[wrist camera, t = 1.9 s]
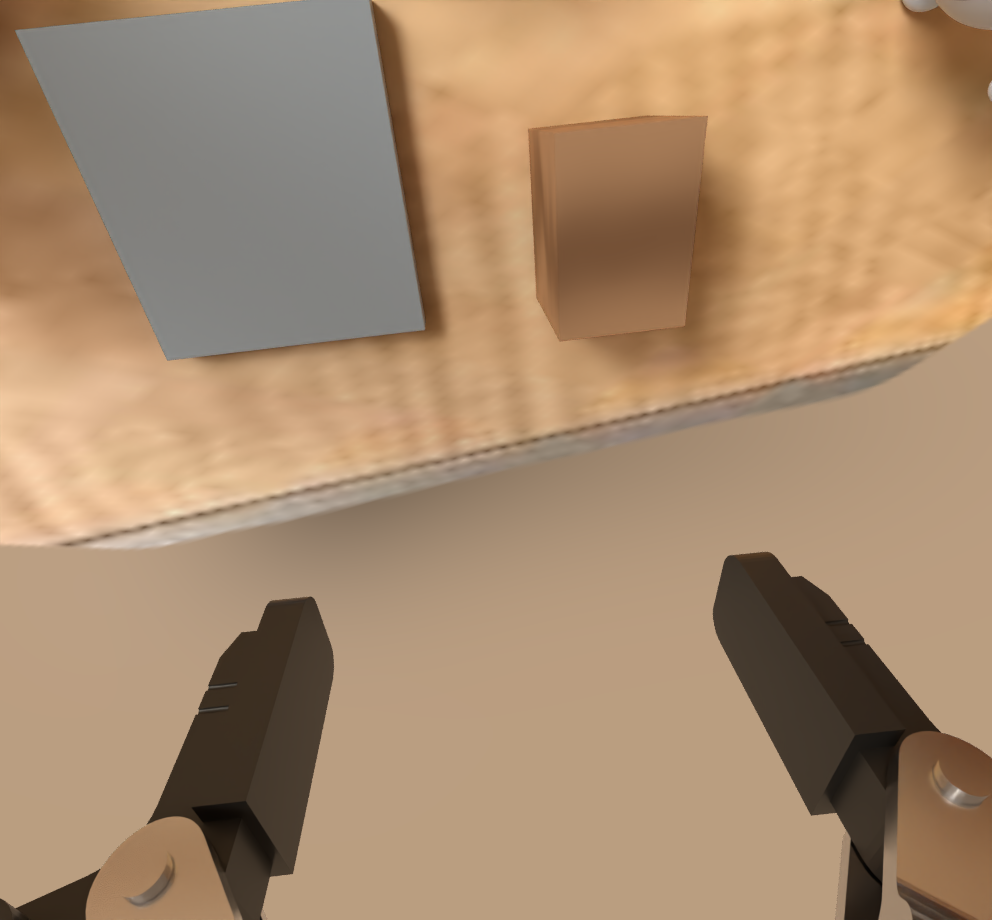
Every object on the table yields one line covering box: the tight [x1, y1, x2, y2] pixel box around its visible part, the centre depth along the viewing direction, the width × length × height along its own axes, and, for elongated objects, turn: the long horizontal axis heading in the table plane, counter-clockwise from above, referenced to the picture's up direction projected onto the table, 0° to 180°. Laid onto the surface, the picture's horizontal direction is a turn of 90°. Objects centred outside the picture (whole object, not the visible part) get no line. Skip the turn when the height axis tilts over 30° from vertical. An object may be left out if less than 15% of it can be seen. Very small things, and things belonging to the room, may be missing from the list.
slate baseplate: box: [15, 0, 426, 361], centre depth 22 cm, size 12×12×1 cm
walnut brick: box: [528, 116, 708, 341], centre depth 21 cm, size 7×5×6 cm
